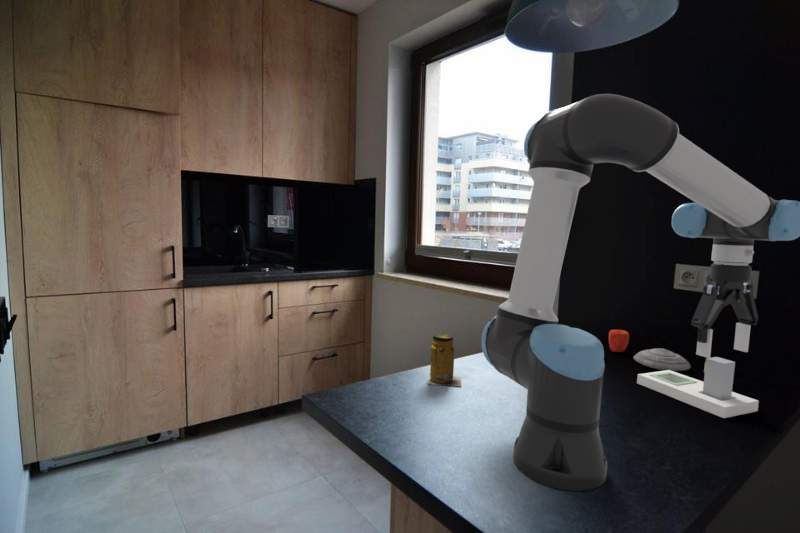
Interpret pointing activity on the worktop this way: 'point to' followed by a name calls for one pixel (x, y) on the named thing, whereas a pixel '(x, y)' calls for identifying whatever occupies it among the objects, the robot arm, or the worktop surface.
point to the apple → (618, 340)
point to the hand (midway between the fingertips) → (722, 353)
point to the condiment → (443, 361)
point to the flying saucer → (662, 360)
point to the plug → (718, 378)
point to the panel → (696, 393)
